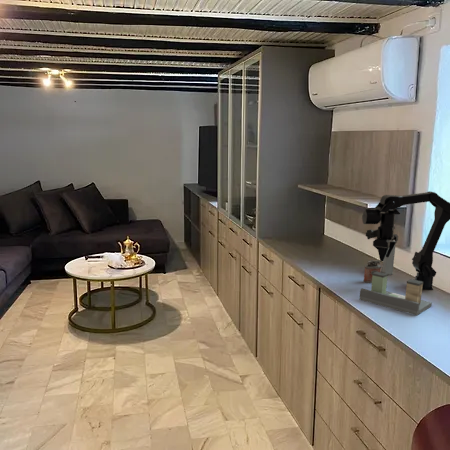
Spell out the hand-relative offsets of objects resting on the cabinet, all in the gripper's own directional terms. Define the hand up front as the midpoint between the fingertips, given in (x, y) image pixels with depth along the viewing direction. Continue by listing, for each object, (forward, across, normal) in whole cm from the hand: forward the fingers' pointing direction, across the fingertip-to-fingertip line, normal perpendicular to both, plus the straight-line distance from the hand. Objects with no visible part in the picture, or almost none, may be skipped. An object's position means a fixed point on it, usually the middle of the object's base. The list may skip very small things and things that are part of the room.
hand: (384, 259), depth 204 cm
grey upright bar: (+13, -24, -4) cm, 27 cm away
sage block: (+10, +19, +3) cm, 22 cm away
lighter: (+13, -4, -6) cm, 14 cm away
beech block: (+11, +21, +17) cm, 29 cm away
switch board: (+12, +19, +10) cm, 25 cm away
